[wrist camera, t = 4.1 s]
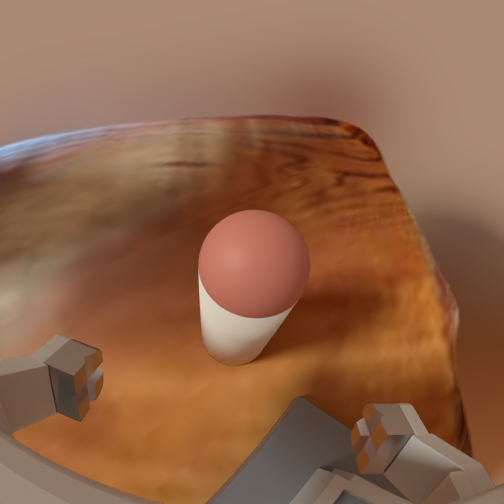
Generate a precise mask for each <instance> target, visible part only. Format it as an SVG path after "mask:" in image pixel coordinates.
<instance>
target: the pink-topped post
mask: <svg viewBox="0 0 504 504" xmlns="http://www.w3.org/2000/svg"><path fill="white" fill-rule="evenodd" d="M198 272H199V295H200V315H201V331H202V341H203V344H204V347H205V349H206V350H207V352H208V353H209V354H210V356H212V357H213V358H214V359H215V360H217V361H218V362H220V363H223V364H226V365H232V366H238V365H243V364H246V363H249V362H251V361H252V360H254V359H255V358H256V357H257V356H258V355H259V354H260V353H261V351H262V350H263V349H264V347H265V346H266V344H267V343H268V342H269V340H270V339H271V338H272V336H273V335H274V334H275V332H276V331H277V329H278V328H279V327H280V325H281V324H282V322H283V321H284V320H285V318H286V317H287V315H288V314H289V313H290V311H291V310H292V308H293V307H294V305H295V304H296V303H297V301H298V300H299V298H300V297H301V295H302V294H303V292H304V290H305V287H306V285H307V282H308V278H309V273H310V258H309V252H308V249H307V246H306V243H305V241H304V239H303V237H302V236H301V234H300V233H299V232H298V230H297V229H296V228H295V227H294V226H293V225H292V224H291V223H290V222H289V221H287V220H286V219H284V218H283V217H281V216H279V215H277V214H274V213H272V212H268V211H263V210H245V211H240V212H237V213H234V214H232V215H229V216H228V217H226V218H224V219H223V220H221V221H220V222H219V223H218V224H216V225H215V226H214V227H213V228H212V230H211V231H210V232H209V234H208V235H207V236H206V238H205V240H204V242H203V245H202V247H201V250H200V255H199V262H198Z"/></svg>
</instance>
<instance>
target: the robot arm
mask: <svg viewBox="0 0 504 504" xmlns="http://www.w3.org/2000/svg"><path fill="white" fill-rule="evenodd" d="M102 362H103V358H102V352H101V350H100V349H98V348H95V347H92V346H90V345H87V344H85V343H82V342H80V341H77V340H75V339H72V338H70V337H67V336H65V335H62V334H57V335H55V336H54V337H53V338H52V339H51V340H49V341H48V342H47V343H46V344H45V345H44V346H42V347H41V348H40V349H39V350H38V351H37V352H35V353H34V354H33V355H32V356H31V357H30V356H28V355H24V356H19V357H14V358H9V359H3V360H0V504H163V503H159V502H156V501H152V500H149V499H145V498H142V497H139V496H136V495H133V494H130V493H127V492H124V491H121V490H118V489H115V488H113V487H110V486H107V485H105V484H102V483H100V482H97V481H95V480H92V479H90V478H88V477H85V476H83V475H81V474H78V473H76V472H74V471H72V470H70V469H68V468H66V467H64V466H62V465H59V464H57V463H56V462H54V461H52V460H50V459H48V458H46V457H44V456H42V455H40V454H39V453H37V452H35V451H33V450H31V449H30V448H28V447H26V446H25V445H23V444H21V443H20V442H18V441H16V440H15V438H14V436H13V432H16V431H18V430H20V429H23V428H25V427H27V426H30V425H32V424H34V423H37V422H39V421H41V420H43V419H46V418H48V417H50V416H52V415H54V414H57V412H58V413H60V414H63V415H65V416H67V417H70V418H72V419H75V420H77V421H79V422H81V421H82V420H83V418H84V417H85V415H86V414H87V412H88V411H89V410H90V404H89V402H92V401H94V400H96V399H97V398H98V396H99V395H100V392H101V389H102V386H103V372H102V370H101V369H100V367H99V365H100V364H101V363H102ZM362 414H363V418H362V419H360V420H359V421H357V422H356V424H355V426H354V428H353V429H352V434H351V445H352V448H353V450H355V451H356V452H357V453H358V456H357V458H356V462H357V465H358V468H359V472H360V474H379V473H384V474H383V475H384V476H385V477H386V478H387V479H388V480H389V481H390V482H391V483H392V484H393V485H394V486H395V487H396V488H397V489H398V490H399V491H400V492H401V493H402V494H403V495H404V496H405V497H406V498H407V499H409V500H410V501H411V502H412V503H413V504H504V484H502V485H499V486H497V487H495V485H494V483H493V482H492V480H491V478H490V477H489V475H488V474H487V472H486V470H485V469H484V467H483V465H482V464H481V463H479V462H477V461H476V460H474V459H472V458H471V457H469V456H468V455H466V454H464V453H463V452H461V451H459V450H458V449H456V448H455V447H453V446H451V445H450V444H448V443H447V442H445V441H443V440H442V439H440V438H439V437H437V436H436V435H434V434H429V433H428V431H427V430H426V428H425V426H424V424H423V423H422V421H421V419H420V418H419V416H418V414H417V413H416V411H415V409H414V408H413V406H412V405H411V404H409V403H395V404H392V403H368V404H367V405H366V406H365V407H364V409H363V411H362Z"/></svg>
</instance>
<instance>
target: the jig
mask: <svg viewBox="0 0 504 504" xmlns="http://www.w3.org/2000/svg"><path fill="white" fill-rule="evenodd" d="M351 434H352V430H351V429H350V428H348V427H347V426H345V425H343V424H342V423H340V422H339V421H337V420H336V419H334V418H333V417H331V416H330V415H328V414H327V413H325V412H324V411H322V410H321V409H319V408H318V407H316V406H315V405H313V404H312V403H311V402H309V401H308V400H306V399H305V398H303V397H302V396H300V397H297V398H295V399H294V400H293V401H292V403H291V404H290V406H289V407H288V408H287V410H286V411H285V412H284V413H283V415H282V416H281V417H280V419H279V420H278V421H277V423H276V424H275V425H274V426H273V428H272V429H271V430H270V431H269V433H268V434H267V435H266V436H265V438H264V439H263V440H262V441H261V442H260V444H259V445H258V446H257V447H256V449H255V450H254V451H253V452H252V453H251V454H250V456H249V457H248V458H247V459H246V460H245V461H244V463H243V464H242V465H241V466H240V467H239V468H238V469H237V471H236V472H235V473H234V474H233V475H232V476H231V477H230V478H229V479H228V481H227V482H226V483H225V484H224V485H223V486H222V487H221V488H220V489H219V490H218V491H217V492H216V493H215V494H214V495H213V497H212V498H211V499H210V500H209V501H208V502H207V503H206V504H413V503H412V502H411V501H410V500H409V499H407V498H406V497H405V496H404V495H403V494H402V493H401V492H400V491H399V490H398V489H397V488H396V487H395V486H394V485H393V484H392V483H391V482H390V481H389V480H388V479H387V478H386V477H385V476H384V475H383V474H384V473H379V474H360V472H359V468H358V465H357V462H356V458H357V456H358V453H357V452H356V451H355V450H353V448H352V445H351Z"/></svg>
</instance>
